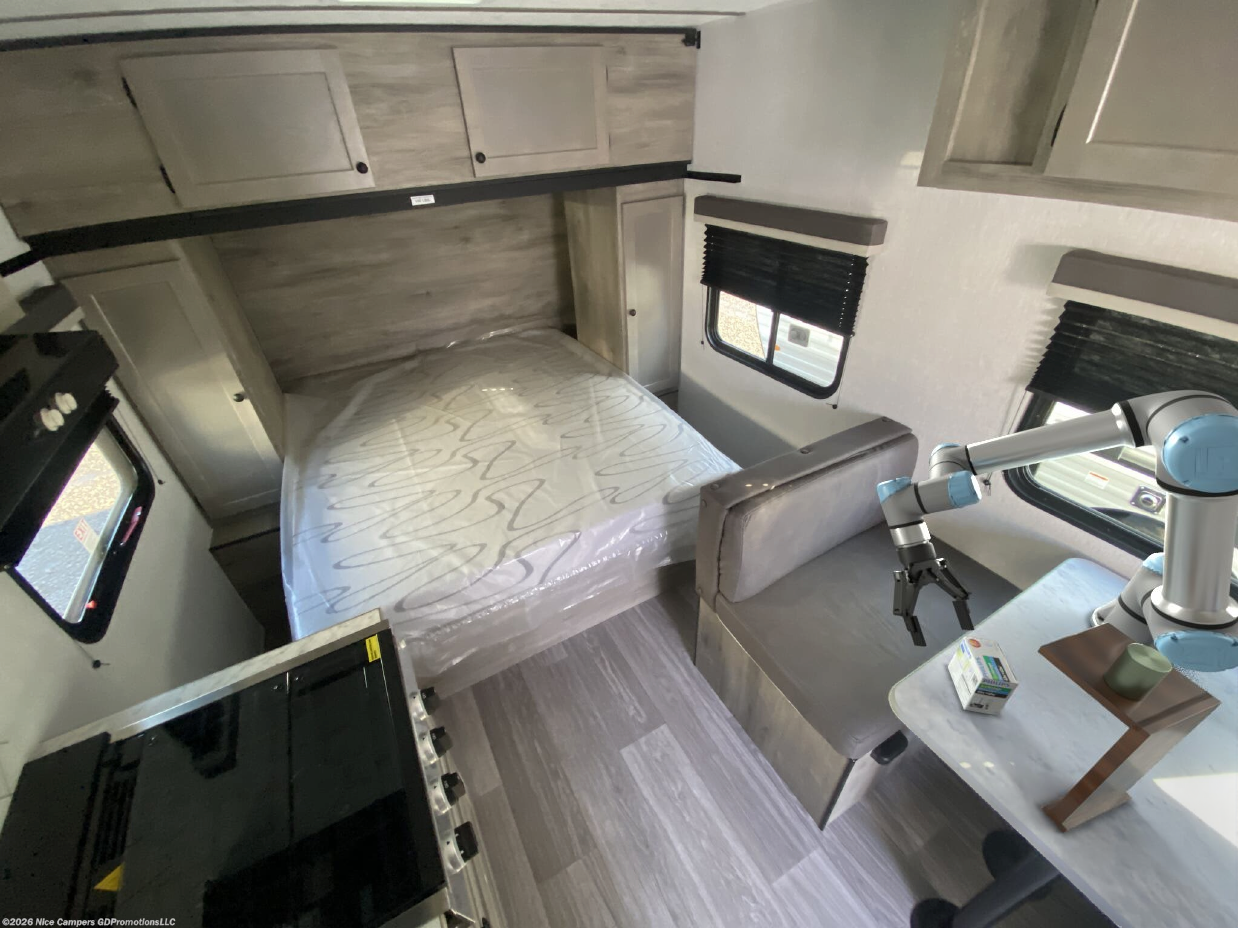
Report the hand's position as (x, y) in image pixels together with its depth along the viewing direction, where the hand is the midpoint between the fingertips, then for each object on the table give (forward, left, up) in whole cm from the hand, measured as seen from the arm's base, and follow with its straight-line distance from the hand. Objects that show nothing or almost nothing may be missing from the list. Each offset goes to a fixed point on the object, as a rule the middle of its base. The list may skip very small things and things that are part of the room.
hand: (944, 637), depth 114 cm
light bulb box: (0, +9, -6) cm, 11 cm away
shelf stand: (0, +26, -6) cm, 27 cm away
